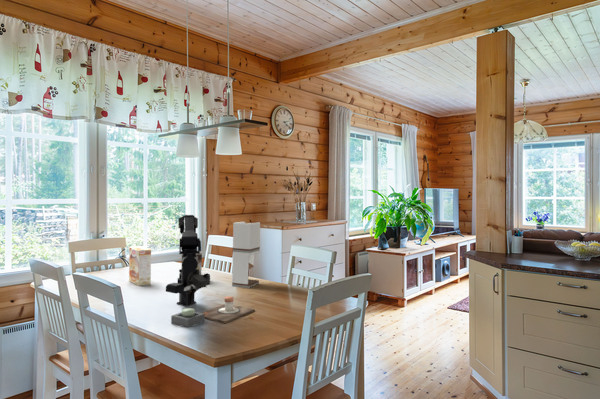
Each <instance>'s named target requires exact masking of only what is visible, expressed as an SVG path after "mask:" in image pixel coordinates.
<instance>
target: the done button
mask: <svg viewBox="0 0 600 399" xmlns="http://www.w3.org/2000/svg"><path fill="white" fill-rule="evenodd" d="M181 312H182V316H184V317H190V316H194V315H195V312H196V311H195V309H194V308H183V309H182V310H181Z"/></svg>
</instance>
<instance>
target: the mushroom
mask: <svg viewBox="0 0 600 399" xmlns="http://www.w3.org/2000/svg"><path fill="white" fill-rule="evenodd" d="M234 299H235V298H234V296H230V295H229V296H224V304H225V311H233V305H234Z"/></svg>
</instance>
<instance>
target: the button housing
mask: <svg viewBox="0 0 600 399" xmlns="http://www.w3.org/2000/svg"><path fill="white" fill-rule="evenodd" d="M170 319H171V320H170V322H171V324H173V325H177V326H180V327H185V328H190V327H194V326H195V325H198V324H201V323H204V322H205V320H206V319H205V314H203V313H201V312H197V311H195V315H194V316H190V317H184V316H182V311H181V312H178V313H175V314H173V315H171V316H170Z"/></svg>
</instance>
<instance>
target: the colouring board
mask: <svg viewBox="0 0 600 399" xmlns="http://www.w3.org/2000/svg"><path fill="white" fill-rule="evenodd" d="M253 311H254V312H256V309H255V308H251V307H247V306H241V305H235V304H233V311H225V303H223V304H220V305H219V306H216V307H211V308H209V309H207V310H204V311H201V312H200V313H203V314H205V320H208V319H209V321H214V322H218V323H222V324H227V323H229V322H232V321H234V320H236V319H239V318H242V317H245V316H246V315H248V314H251V313H253Z"/></svg>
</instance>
